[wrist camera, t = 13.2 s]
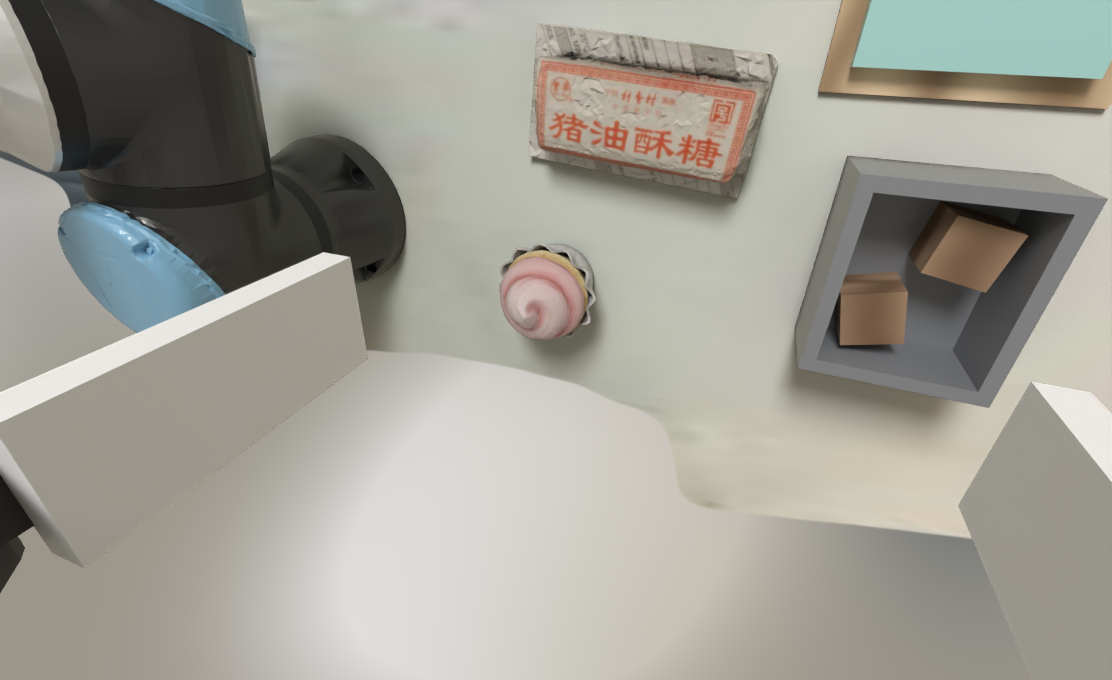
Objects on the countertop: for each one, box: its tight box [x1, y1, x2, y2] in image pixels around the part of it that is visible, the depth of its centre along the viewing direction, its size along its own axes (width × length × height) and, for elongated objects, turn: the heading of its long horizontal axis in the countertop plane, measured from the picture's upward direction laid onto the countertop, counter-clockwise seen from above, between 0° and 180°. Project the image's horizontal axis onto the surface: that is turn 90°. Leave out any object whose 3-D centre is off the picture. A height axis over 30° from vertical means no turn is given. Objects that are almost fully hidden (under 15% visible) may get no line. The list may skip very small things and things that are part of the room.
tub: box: [795, 156, 1108, 408], centre depth 36 cm, size 12×14×7 cm
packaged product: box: [529, 24, 778, 198], centre depth 39 cm, size 18×5×10 cm
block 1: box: [835, 272, 908, 345], centre depth 38 cm, size 4×4×4 cm
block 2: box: [908, 201, 1029, 293], centre depth 34 cm, size 4×4×4 cm
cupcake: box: [498, 242, 596, 340], centre depth 45 cm, size 9×9×10 cm
